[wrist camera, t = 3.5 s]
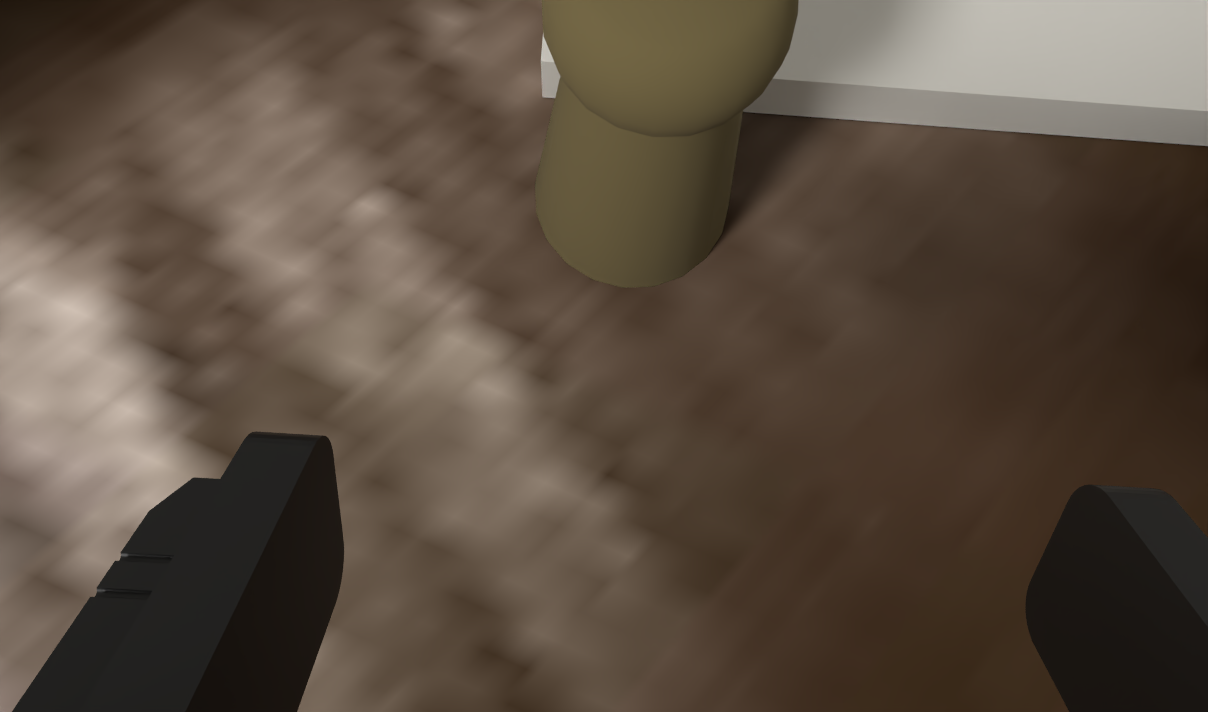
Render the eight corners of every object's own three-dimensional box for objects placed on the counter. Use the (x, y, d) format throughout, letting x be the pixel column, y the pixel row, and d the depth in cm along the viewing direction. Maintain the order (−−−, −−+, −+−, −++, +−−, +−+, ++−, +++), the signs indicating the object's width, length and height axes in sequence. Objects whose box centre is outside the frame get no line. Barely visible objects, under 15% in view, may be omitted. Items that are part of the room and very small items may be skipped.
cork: (623, 71, 27) (663, -242, 17) (768, 191, 27) (906, -57, 16) (493, 199, 26) (445, -51, 15) (640, 328, 25) (698, 160, 15)
